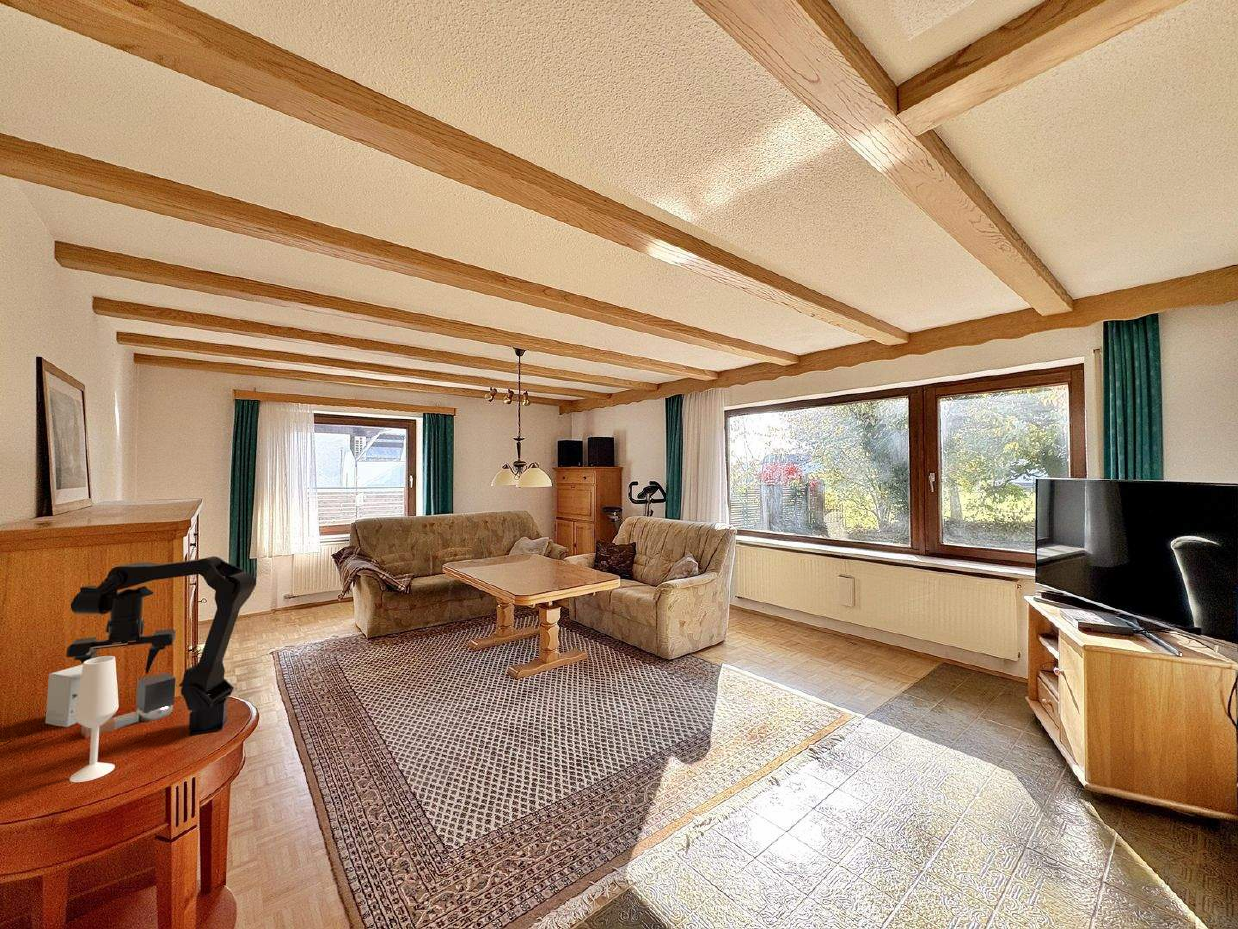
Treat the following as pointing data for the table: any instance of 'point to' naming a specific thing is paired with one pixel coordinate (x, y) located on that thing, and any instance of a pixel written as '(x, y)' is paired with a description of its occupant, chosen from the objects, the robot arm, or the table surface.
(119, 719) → the ratchet
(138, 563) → the robot arm
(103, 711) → the champagne flute
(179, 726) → the table surface
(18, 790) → the table surface
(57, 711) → the supplement box
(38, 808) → the table surface
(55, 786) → the table surface
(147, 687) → the dark grey box
